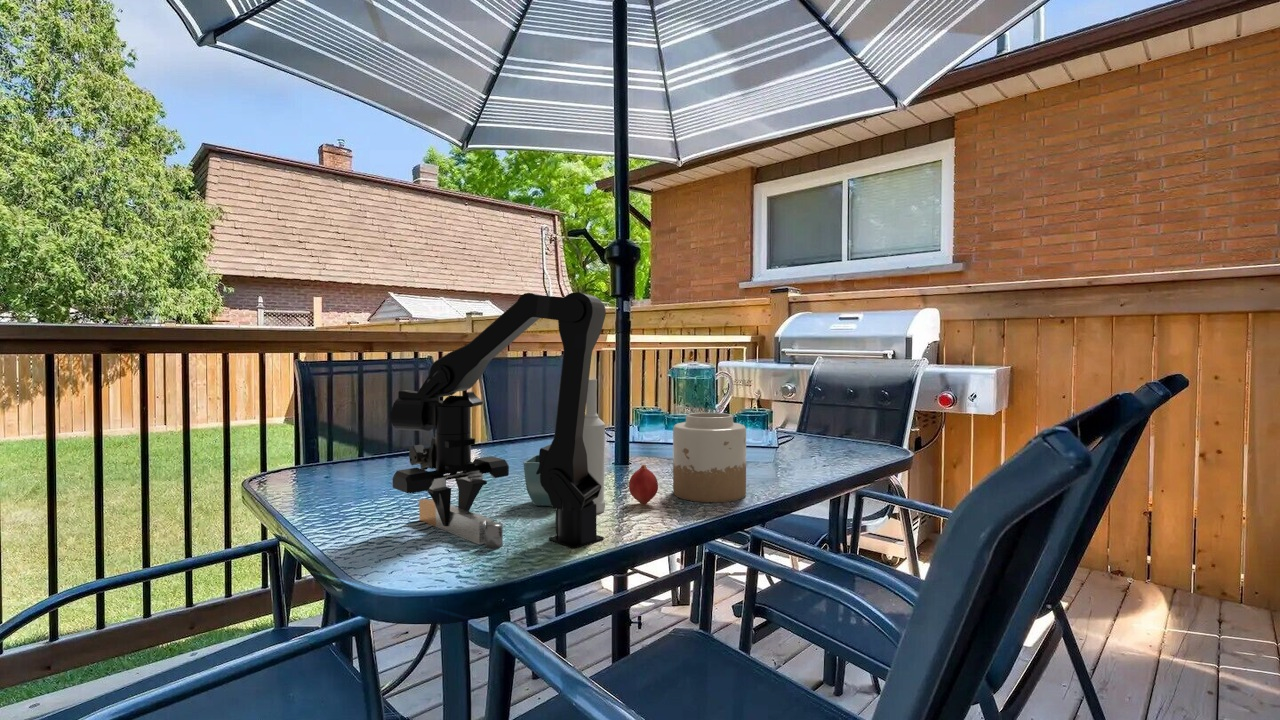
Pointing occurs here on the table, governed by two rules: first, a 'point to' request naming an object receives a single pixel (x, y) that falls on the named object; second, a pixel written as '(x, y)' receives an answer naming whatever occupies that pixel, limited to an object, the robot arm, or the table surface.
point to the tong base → (488, 530)
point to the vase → (709, 458)
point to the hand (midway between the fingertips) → (453, 523)
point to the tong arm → (454, 522)
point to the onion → (643, 485)
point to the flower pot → (535, 482)
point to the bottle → (595, 442)
